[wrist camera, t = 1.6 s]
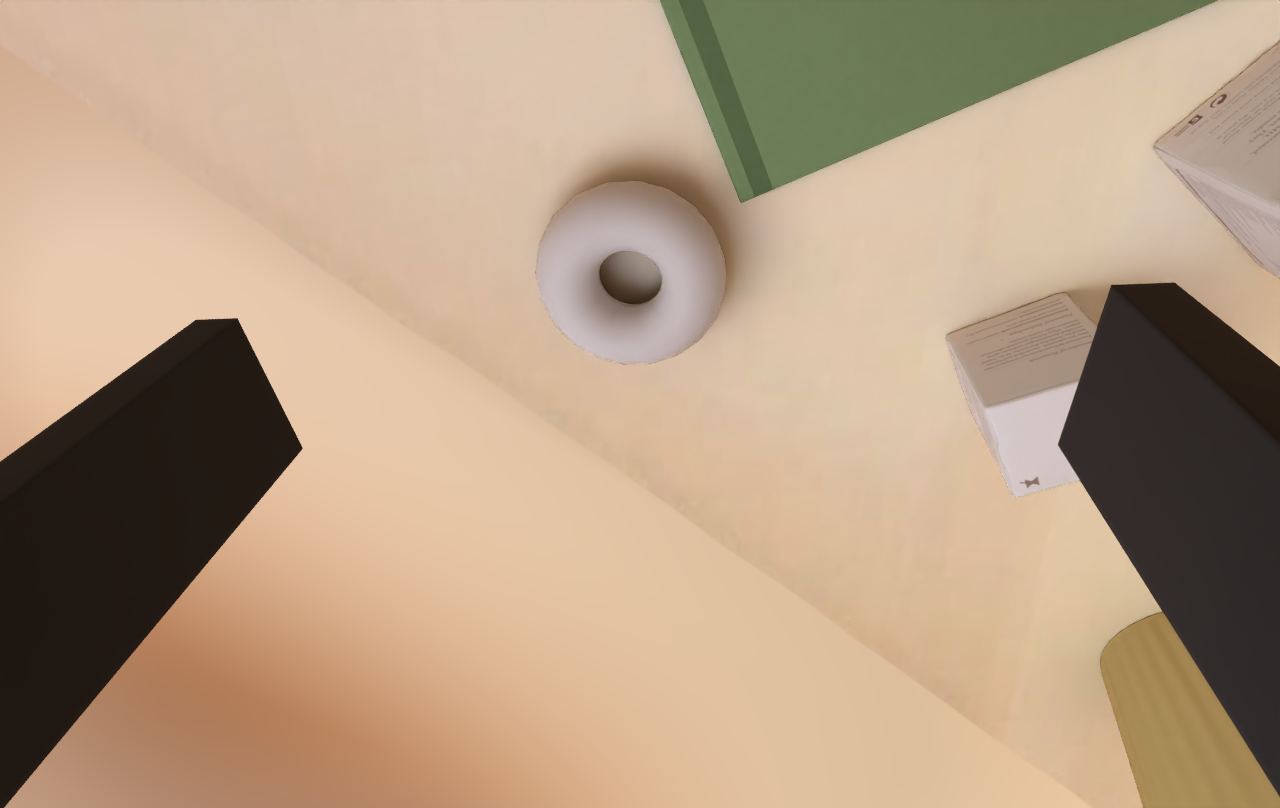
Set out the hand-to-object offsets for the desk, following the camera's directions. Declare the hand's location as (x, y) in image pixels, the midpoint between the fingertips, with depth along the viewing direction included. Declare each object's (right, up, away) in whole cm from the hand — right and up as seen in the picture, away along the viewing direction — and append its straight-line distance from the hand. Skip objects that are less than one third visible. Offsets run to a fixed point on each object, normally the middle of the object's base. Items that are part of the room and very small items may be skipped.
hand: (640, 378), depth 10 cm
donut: (0, +7, +25) cm, 26 cm away
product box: (+21, +2, +26) cm, 33 cm away
